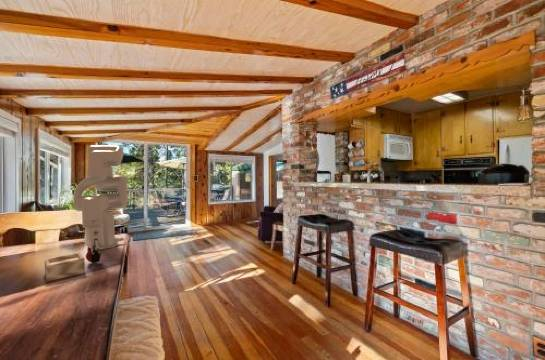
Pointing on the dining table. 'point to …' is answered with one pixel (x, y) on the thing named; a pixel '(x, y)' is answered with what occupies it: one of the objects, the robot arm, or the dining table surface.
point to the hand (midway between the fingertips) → (93, 260)
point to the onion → (88, 255)
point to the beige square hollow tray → (64, 266)
